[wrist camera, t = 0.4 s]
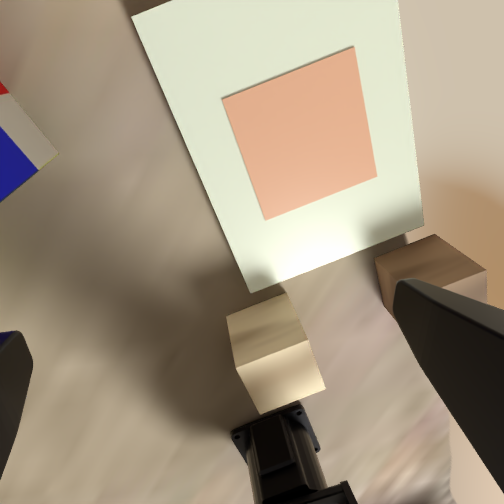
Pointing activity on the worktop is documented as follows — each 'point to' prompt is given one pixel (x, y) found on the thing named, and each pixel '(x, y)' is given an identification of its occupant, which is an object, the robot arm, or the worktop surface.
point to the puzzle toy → (19, 145)
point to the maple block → (273, 354)
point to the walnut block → (431, 269)
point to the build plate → (292, 124)
